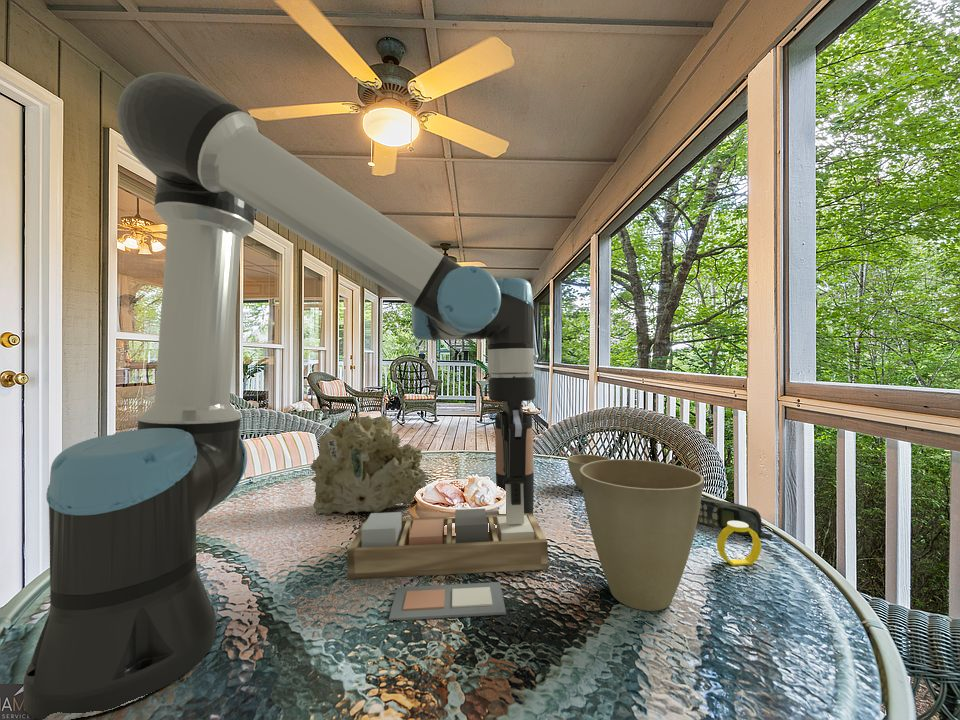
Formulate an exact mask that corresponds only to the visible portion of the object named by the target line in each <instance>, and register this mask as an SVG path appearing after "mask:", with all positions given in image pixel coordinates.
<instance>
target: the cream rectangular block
mask: <svg viewBox="0 0 960 720" xmlns="http://www.w3.org/2000/svg"><path fill="white" fill-rule="evenodd" d="M497 535H498V539H499V541H513V540H534V530H533V528H532V526H531V524H530V522H529V520H528V518H527V516H526V515H524V524H509V525H507V522H506V516H499V517H497Z"/></svg>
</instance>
